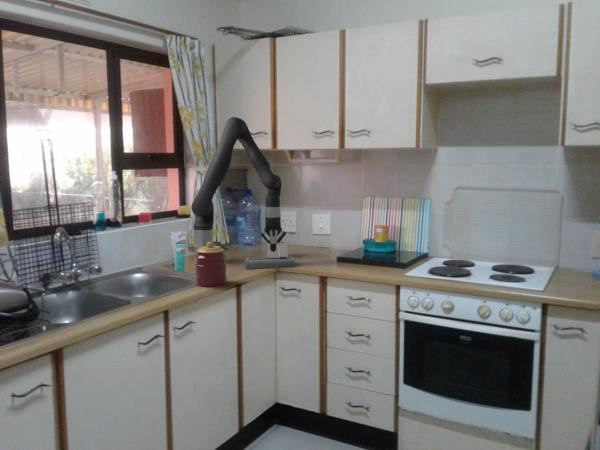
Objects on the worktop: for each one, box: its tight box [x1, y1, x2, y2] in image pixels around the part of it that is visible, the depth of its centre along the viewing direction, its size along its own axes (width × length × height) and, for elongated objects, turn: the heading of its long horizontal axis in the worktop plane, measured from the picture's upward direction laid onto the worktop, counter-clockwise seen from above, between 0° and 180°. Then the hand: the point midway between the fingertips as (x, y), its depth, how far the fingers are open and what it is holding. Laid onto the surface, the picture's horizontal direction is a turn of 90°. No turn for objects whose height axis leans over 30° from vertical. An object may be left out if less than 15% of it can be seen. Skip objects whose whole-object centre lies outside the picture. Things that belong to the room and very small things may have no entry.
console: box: [243, 255, 297, 270], centre depth 255 cm, size 24×12×4 cm, turn 101°
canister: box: [194, 242, 228, 287], centre depth 218 cm, size 13×13×18 cm
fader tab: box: [278, 241, 289, 259], centre depth 256 cm, size 4×5×9 cm
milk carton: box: [266, 232, 283, 257], centre depth 276 cm, size 7×7×19 cm
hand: (273, 251), depth 255 cm, fingers closed
